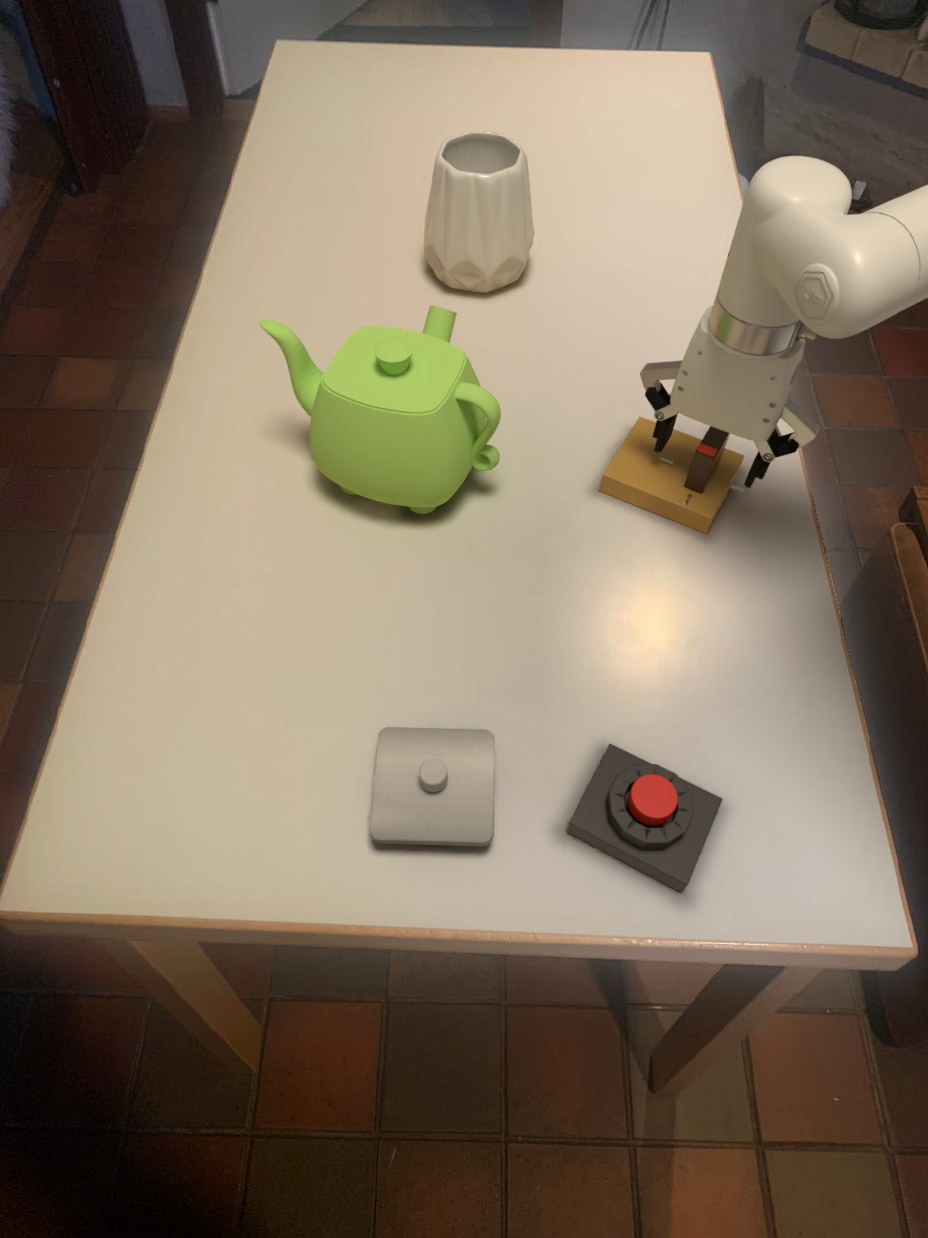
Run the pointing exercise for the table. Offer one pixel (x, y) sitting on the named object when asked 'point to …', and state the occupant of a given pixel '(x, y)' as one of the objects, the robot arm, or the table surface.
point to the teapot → (395, 412)
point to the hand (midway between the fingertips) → (706, 460)
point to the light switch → (433, 787)
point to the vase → (479, 212)
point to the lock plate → (668, 477)
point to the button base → (632, 842)
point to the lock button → (652, 799)
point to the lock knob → (706, 459)
